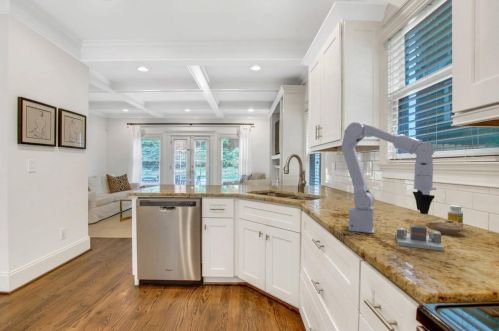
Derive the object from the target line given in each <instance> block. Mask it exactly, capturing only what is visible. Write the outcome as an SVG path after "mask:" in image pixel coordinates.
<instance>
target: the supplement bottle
mask: <svg viewBox="0 0 499 331" xmlns="http://www.w3.org/2000/svg"><path fill="white" fill-rule="evenodd" d="M447 220H453V221H456V222H458V223H462V224H463V225H464V213H463V211H462V206H460V205H456V204H455V205H453V204H450V205H449V209H448V211H447Z"/></svg>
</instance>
